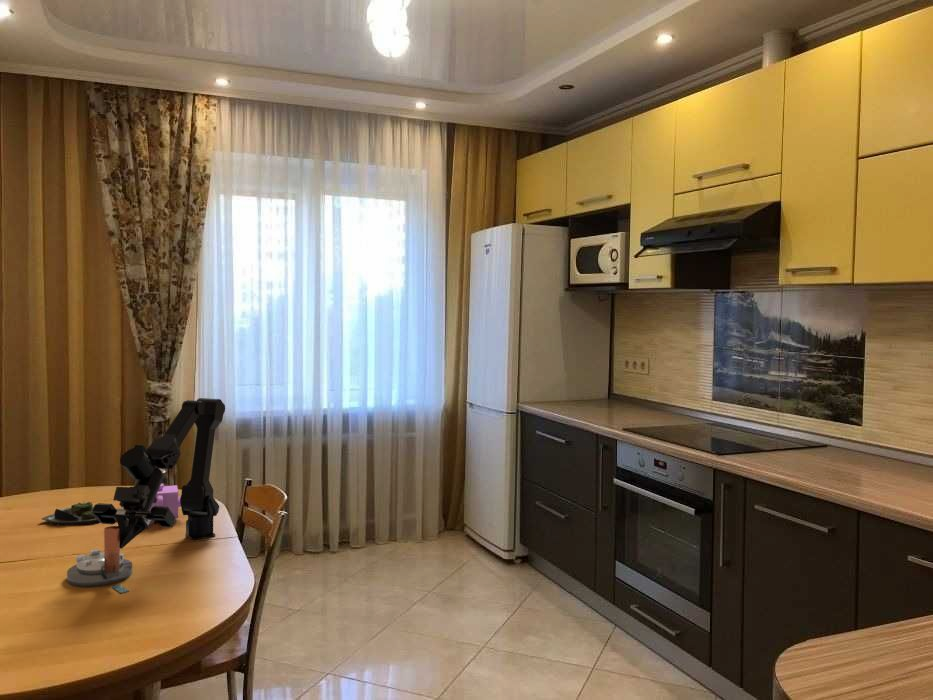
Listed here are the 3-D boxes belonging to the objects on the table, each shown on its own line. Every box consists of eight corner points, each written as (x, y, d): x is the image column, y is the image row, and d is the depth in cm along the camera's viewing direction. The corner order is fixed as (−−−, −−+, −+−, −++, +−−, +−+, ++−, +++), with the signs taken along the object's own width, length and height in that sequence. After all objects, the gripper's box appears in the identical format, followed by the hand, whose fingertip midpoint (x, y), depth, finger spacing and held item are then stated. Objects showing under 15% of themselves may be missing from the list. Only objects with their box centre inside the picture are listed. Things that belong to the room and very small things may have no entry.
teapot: (155, 529, 207) (155, 493, 207) (122, 523, 213) (122, 487, 212) (194, 516, 221) (195, 482, 221) (163, 510, 227) (163, 477, 226)
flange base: (124, 561, 181) (124, 554, 181) (147, 587, 165) (147, 579, 165) (61, 573, 172) (61, 565, 172) (80, 602, 156) (79, 593, 156)
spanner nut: (71, 565, 172) (71, 517, 171) (115, 556, 178) (115, 510, 178) (90, 584, 160) (90, 533, 159) (136, 574, 167) (137, 525, 166)
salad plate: (59, 509, 226) (59, 495, 226) (120, 507, 230) (120, 493, 230) (37, 528, 207) (36, 512, 207) (103, 525, 211) (103, 510, 211)
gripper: (95, 470, 171) (66, 528, 161) (169, 473, 170) (144, 533, 159) (114, 494, 180) (87, 551, 169) (185, 498, 178) (162, 556, 167)
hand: (119, 547), depth 166 cm, fingers closed
